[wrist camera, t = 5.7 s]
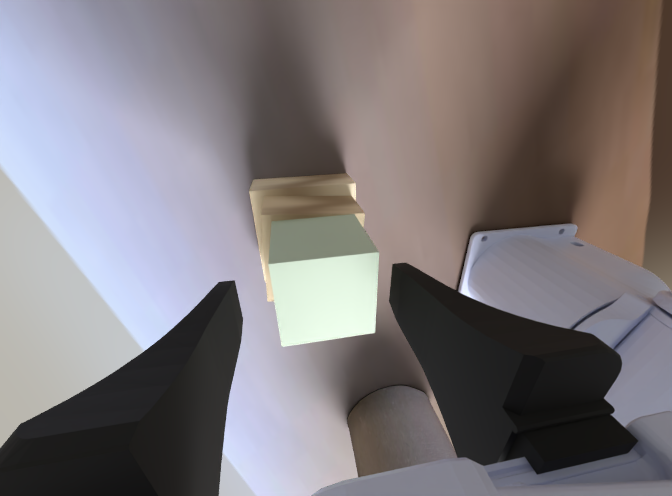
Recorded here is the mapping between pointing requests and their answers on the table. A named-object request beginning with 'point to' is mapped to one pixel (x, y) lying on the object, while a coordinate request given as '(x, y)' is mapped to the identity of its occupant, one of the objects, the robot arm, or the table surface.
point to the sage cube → (323, 278)
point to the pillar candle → (396, 431)
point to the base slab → (296, 193)
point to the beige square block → (301, 216)
